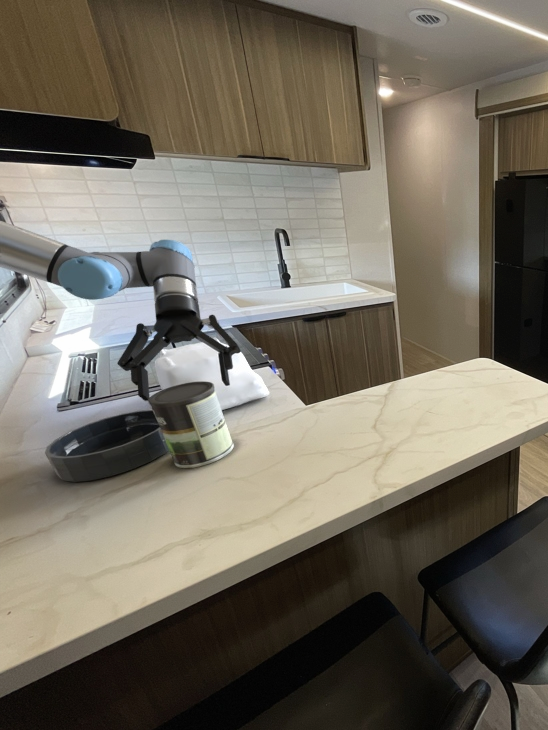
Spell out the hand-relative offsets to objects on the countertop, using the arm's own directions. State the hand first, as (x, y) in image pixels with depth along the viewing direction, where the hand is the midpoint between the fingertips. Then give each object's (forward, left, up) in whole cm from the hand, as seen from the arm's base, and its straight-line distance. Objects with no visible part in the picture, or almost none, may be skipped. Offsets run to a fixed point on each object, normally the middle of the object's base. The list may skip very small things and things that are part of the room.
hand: (186, 390), depth 80 cm
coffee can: (+2, -3, -13) cm, 14 cm away
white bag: (-13, +28, -13) cm, 33 cm away
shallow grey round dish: (-17, 0, -13) cm, 21 cm away
